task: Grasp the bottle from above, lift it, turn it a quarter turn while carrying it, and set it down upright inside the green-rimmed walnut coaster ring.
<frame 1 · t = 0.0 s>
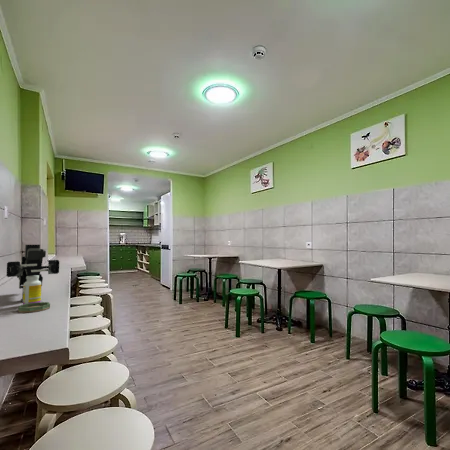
hand: (36, 269, 112), 17 cm above the worktop, tool horizontal, fingers open, 9 cm apart
coaster ring: (34, 309, 112), on the worktop
supplement bottle: (31, 305, 121), on the worktop
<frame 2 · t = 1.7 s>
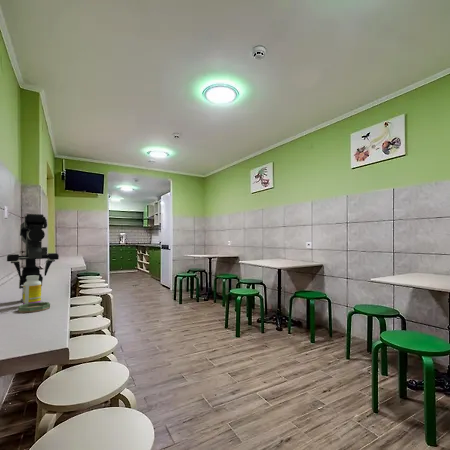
hand: (32, 276, 122), 12 cm above the worktop, tool pointing down, fingers open, 9 cm apart
nothing on the worktop moved.
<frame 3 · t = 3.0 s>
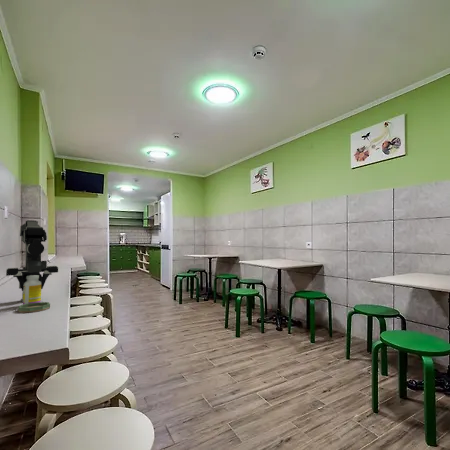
hand: (32, 290, 121), 7 cm above the worktop, tool pointing down, fingers closed on supplement bottle, 7 cm apart
supplement bottle: (31, 305, 121), on the worktop, touching gripper
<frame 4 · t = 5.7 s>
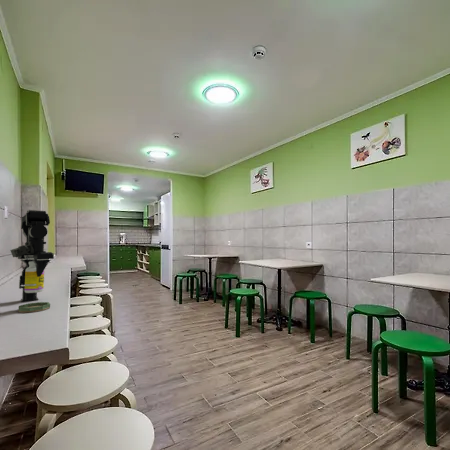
hand: (34, 276, 115), 13 cm above the worktop, tool pointing down, fingers closed on supplement bottle, 7 cm apart
supplement bottle: (34, 292, 115), point 7 cm above the worktop, touching gripper
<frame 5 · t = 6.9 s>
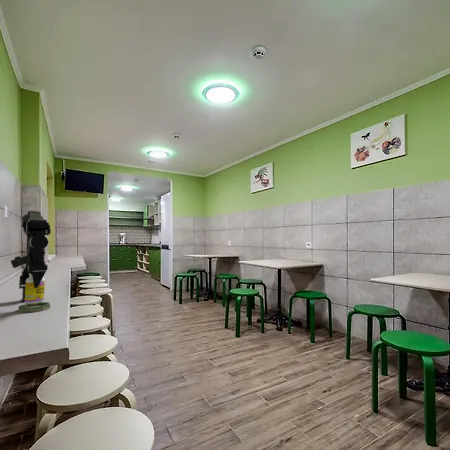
hand: (35, 286, 113), 9 cm above the worktop, tool pointing down, fingers closed on supplement bottle, 7 cm apart
supplement bottle: (34, 303, 113), point 2 cm above the worktop, touching gripper
when the fingers open (8 cm above the worktop, at t = 8.0 s): supplement bottle drops 1 cm, resting on coaster ring.
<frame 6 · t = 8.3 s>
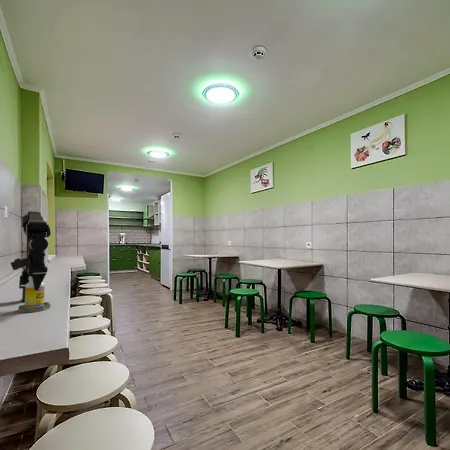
hand: (35, 289, 113), 8 cm above the worktop, tool pointing down, fingers open, 9 cm apart
supplement bottle: (34, 308, 112), resting on coaster ring
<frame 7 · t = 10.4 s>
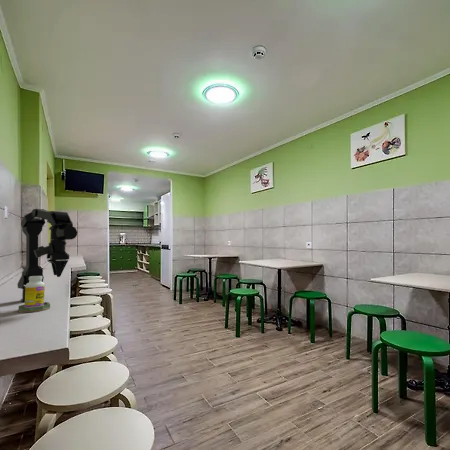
hand: (56, 275, 118), 13 cm above the worktop, tool pointing down, fingers open, 9 cm apart
nothing on the worktop moved.
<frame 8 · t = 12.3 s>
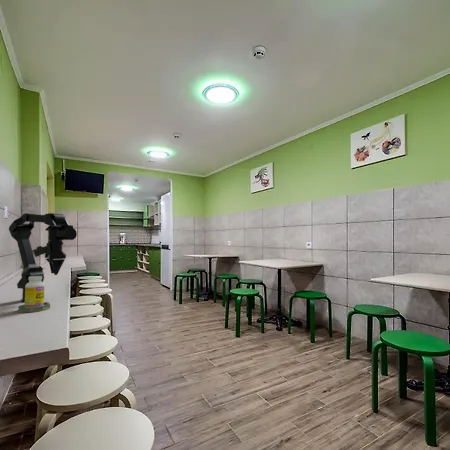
hand: (54, 274, 126), 13 cm above the worktop, tool pointing down, fingers open, 9 cm apart
nothing on the worktop moved.
at the end: supplement bottle 0.1 cm off-centre on the coaster ring, point 0.4 cm above the coaster ring's base; supplement bottle tilted 0°; the gripper is holding nothing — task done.
